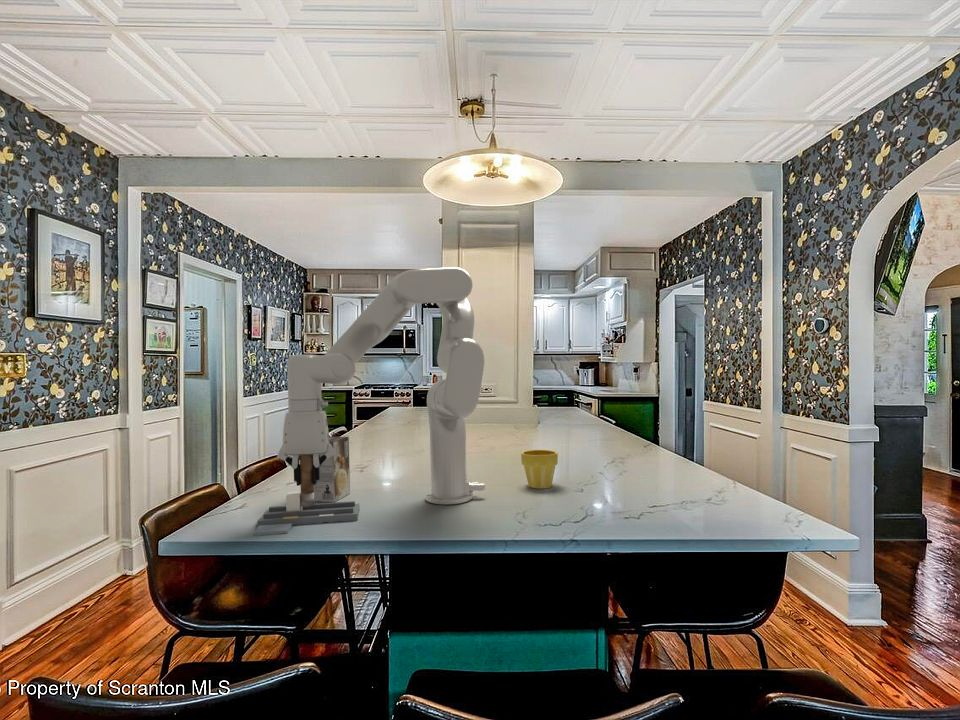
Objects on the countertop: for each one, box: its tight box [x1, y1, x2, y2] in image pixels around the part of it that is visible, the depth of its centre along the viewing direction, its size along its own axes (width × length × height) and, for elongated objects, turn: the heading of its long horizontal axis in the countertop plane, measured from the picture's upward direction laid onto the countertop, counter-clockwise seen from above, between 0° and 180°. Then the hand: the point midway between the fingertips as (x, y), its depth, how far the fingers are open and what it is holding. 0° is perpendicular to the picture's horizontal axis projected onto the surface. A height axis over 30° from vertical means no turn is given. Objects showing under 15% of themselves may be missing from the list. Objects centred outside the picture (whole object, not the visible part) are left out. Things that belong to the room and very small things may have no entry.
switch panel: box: [256, 500, 360, 527], centre depth 125 cm, size 22×9×2 cm, turn 100°
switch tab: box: [285, 490, 302, 512], centre depth 124 cm, size 3×4×4 cm
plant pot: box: [520, 449, 559, 490], centre depth 151 cm, size 10×10×10 cm
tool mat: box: [253, 523, 293, 536], centre depth 116 cm, size 7×5×1 cm
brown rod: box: [299, 455, 315, 507], centre depth 124 cm, size 3×3×14 cm
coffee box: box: [313, 436, 351, 503], centre depth 143 cm, size 9×6×16 cm
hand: (307, 483), depth 124 cm, fingers closed on brown rod, 3 cm apart
